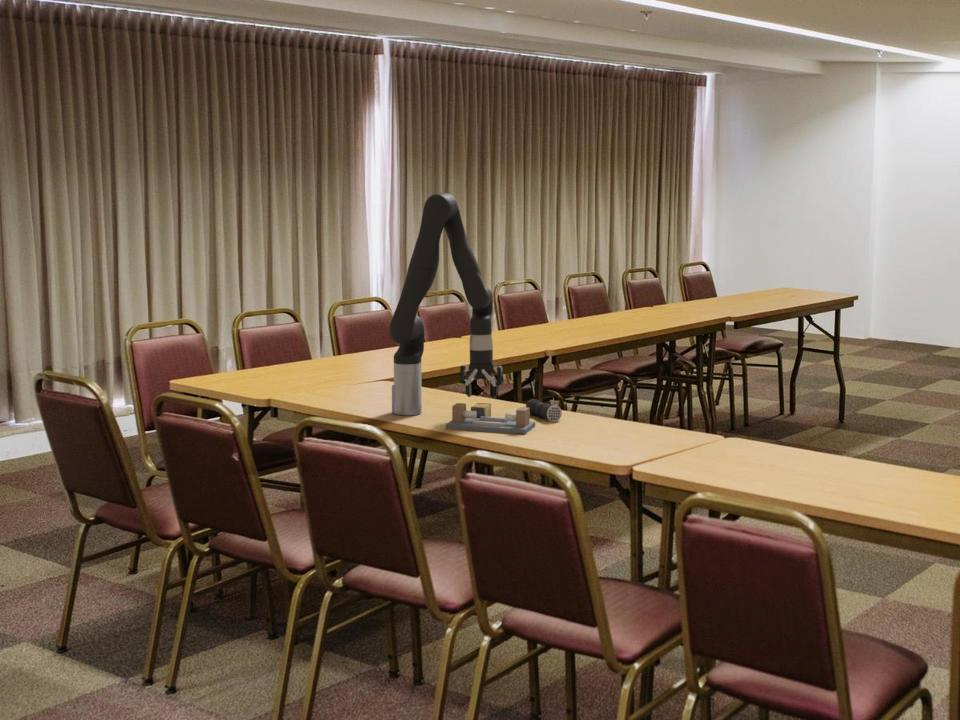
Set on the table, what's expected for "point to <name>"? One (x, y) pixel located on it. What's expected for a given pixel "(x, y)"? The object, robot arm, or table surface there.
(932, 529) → the table surface
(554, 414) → the flashlight
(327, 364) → the table surface
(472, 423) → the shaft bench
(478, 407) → the coupler
